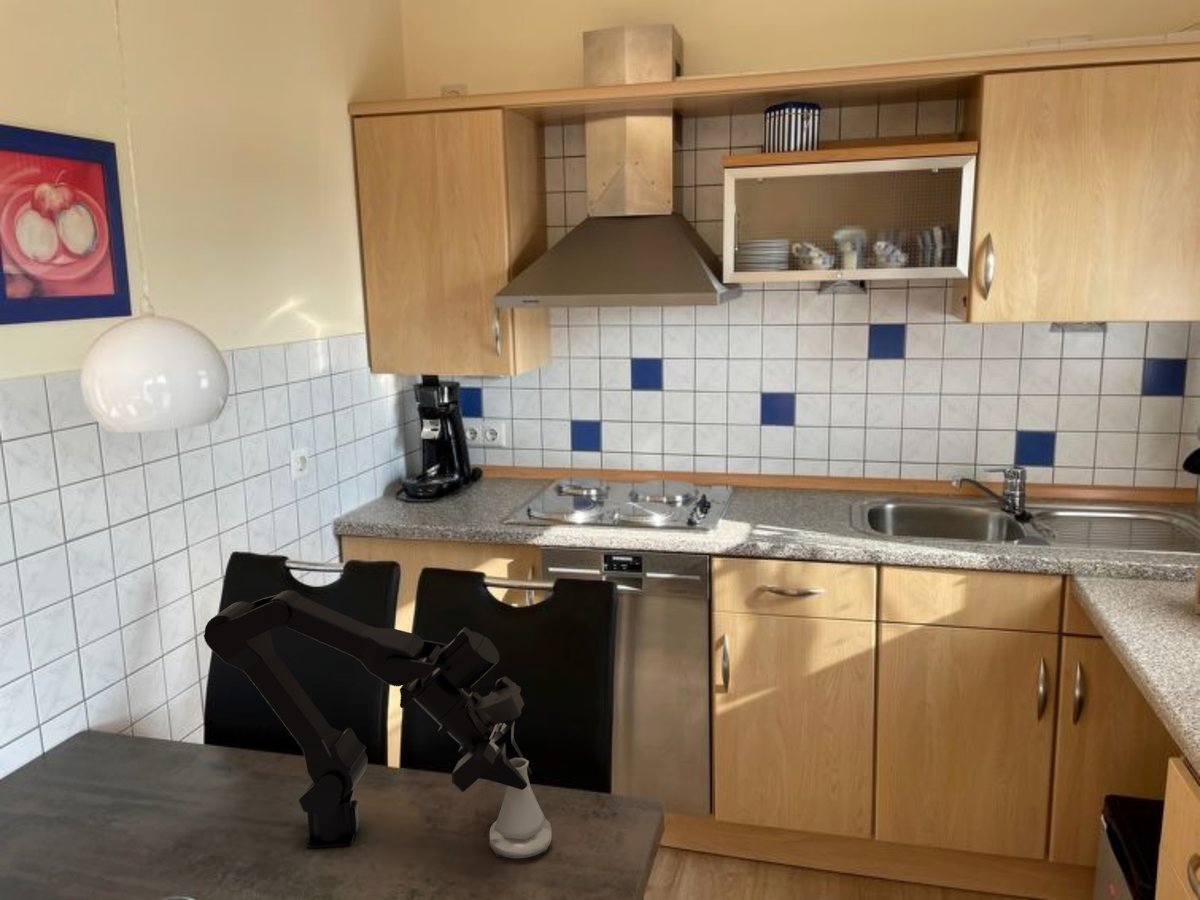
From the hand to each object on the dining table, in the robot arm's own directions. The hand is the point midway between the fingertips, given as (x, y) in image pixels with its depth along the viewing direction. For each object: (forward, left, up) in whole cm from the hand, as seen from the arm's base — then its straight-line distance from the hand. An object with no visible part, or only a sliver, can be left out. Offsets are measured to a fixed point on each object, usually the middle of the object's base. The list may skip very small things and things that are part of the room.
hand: (527, 781), depth 132 cm
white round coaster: (-1, 0, -10) cm, 10 cm away
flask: (-1, 0, -7) cm, 7 cm away
